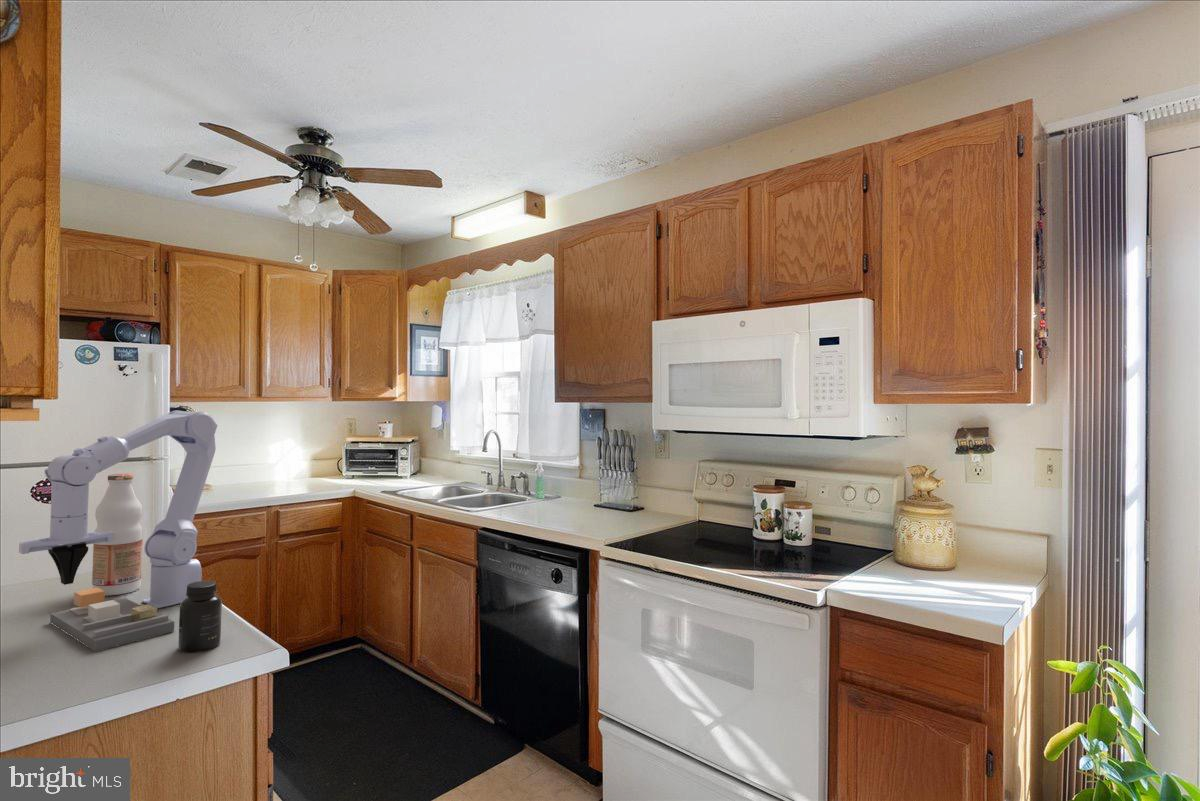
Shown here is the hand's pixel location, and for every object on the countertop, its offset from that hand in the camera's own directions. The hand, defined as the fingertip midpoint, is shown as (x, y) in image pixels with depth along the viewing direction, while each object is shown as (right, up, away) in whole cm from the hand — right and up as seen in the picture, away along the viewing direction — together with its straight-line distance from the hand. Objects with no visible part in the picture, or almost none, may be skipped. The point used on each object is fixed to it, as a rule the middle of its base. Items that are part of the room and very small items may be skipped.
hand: (67, 583), depth 125 cm
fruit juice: (-10, -10, +25) cm, 29 cm away
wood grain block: (+15, -8, +1) cm, 17 cm away
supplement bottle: (+30, -11, -6) cm, 33 cm away
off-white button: (+6, -7, +2) cm, 10 cm away
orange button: (-1, -6, +6) cm, 9 cm away
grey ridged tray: (+7, -10, +2) cm, 12 cm away
